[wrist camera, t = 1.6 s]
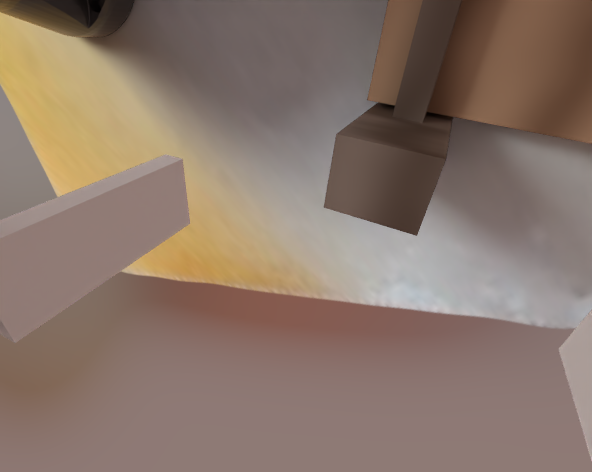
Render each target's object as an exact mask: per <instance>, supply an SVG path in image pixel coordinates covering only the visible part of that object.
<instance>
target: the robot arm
mask: <svg viewBox="0 0 592 472" xmlns="http://www.w3.org/2000/svg"><path fill="white" fill-rule="evenodd" d="M133 1H134V0H0V12H1V13H4V14H7V15H10V16H13V17H15V18H18V19H21V20H24V21H27V22H29V23H32V24H35V25H38V26H41V27H44V28H46V29H49V30H52V31H55V32H58V33H60V34H63V35H67V36H72V37H103V36H107V35H109V34H111V33H113V32H114V31H116V30H117V29H118V28H119V27H120V26H121V25H122V24H123V22H124V21H125V19H126V18H127V16H128V14H129V12H130V10H131V7H132V4H133ZM189 224H190V219H189V210H188V202H187V193H186V185H185V177H184V168H183V160H182V159H181V158H177V157H173V156H170V155H163V156H161V157H158V158H156V159H153V160H151V161H148V162H145V163H143V164H140V165H138V166H135V167H133V168H130V169H128V170H125V171H123V172H120V173H118V174H115V175H113V176H110V177H108V178H105V179H103V180H100V181H98V182H95V183H93V184H90V185H88V186H85V187H82V188H80V189H77V190H75V191H72V192H70V193H67V194H65V195H62V196H60V197H57V198H55V199H52V200H50V201H47V202H45V203H42V204H40V205H37V206H35V207H32V208H30V209H27V210H25V211H22V212H20V213H17V214H15V215H12V216H9V217H7V218H5V219H2V220H0V334H1V335H2V336H4V337H6V338H7V339H9V340H11V341H13V342H14V343H16V342H17V341H19V340H20V339H22V338H23V337H25V336H26V335H28V334H29V333H30V332H32V331H33V330H35V329H36V328H38V327H39V326H41V325H42V324H43V323H45V322H47V321H48V320H49V319H51V318H52V317H54V316H55V315H57V314H58V313H60V312H61V311H63V310H64V309H66V308H67V307H69V306H70V305H71V304H73V303H74V302H76V301H77V300H79V299H80V298H82V297H83V296H84V295H86V294H88V293H89V292H90V291H92V290H93V289H95V288H96V287H98V286H99V285H101V284H102V283H104V282H105V281H107V280H108V279H109V278H111V277H112V276H114V275H115V274H117V273H118V272H120V271H121V270H123V269H124V268H126V267H127V266H129V265H130V264H132V263H133V262H134V261H136V260H137V259H139V258H140V257H142V256H143V255H145V254H146V253H148V252H149V251H151V250H152V249H153V248H155V247H156V246H158V245H159V244H161V243H162V242H164V241H165V240H167V239H168V238H170V237H171V236H172V235H174V234H175V233H177V232H178V231H180V230H181V229H183V228H184V227H186V226H187V225H189ZM559 353H560V356H561V360H562V363H563V366H564V370H565V373H566V377H567V380H568V383H569V387H570V390H571V393H572V397H573V400H574V403H575V406H576V410H577V413H578V417H579V420H580V423H581V427H582V430H583V433H584V437H585V440H586V443H587V446H588V450H589V453H590V457H591V460H592V310H591V311H590V312H589V313H588V315H587V316H586V317H585V318H584V319H583V321H582V322H581V323H580V324H579V325H578V327H577V328H576V329H575V330H574V331H573V332H572V334H571V335H570V336H569V337H568V338H567V340H566V341H565V342H564V343H563V344H562V346H561V347H560V348H559Z"/></svg>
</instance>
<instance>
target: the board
mask: <svg viewBox="0 0 592 472" xmlns="http://www.w3.org/2000/svg"><path fill="white" fill-rule="evenodd" d="M422 1H423V0H388V5H387V10H386V14H385V19H384V24H383V28H382V33H381V38H380V42H379V47H378V52H377V56H376V61H375V66H374V70H373V75H372V80H371V84H370V89H369V94H368V98H367V100H369V101H375V102H380V103H385V104H390V105H395V104H396V100H397V96H398V93H399V89H400V85H401V81H402V77H403V74H404V70H405V66H406V62H407V58H408V55H409V51H410V47H411V43H412V39H413V35H414V32H415V28H416V24H417V20H418V16H419V13H420V9H421V5H422ZM427 112H431V113H436V114H442V115H447V116H452V117H457V118H462V119H467V120H472V121H478V122H483V123H488V124H493V125H498V126H503V127H508V128H514V129H519V130H524V131H529V132H534V133H539V134H545V135H550V136H555V137H560V138H565V139H570V140H575V141H581V142H586V143H591V144H592V0H462V3H461V6H460V9H459V13H458V16H457V19H456V22H455V25H454V28H453V31H452V35H451V38H450V41H449V44H448V47H447V50H446V53H445V57H444V60H443V63H442V66H441V69H440V72H439V75H438V79H437V82H436V85H435V88H434V91H433V94H432V97H431V101H430V104H429V107H428V110H427Z"/></svg>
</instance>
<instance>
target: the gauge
mask: <svg viewBox="0 0 592 472" xmlns="http://www.w3.org/2000/svg"><path fill="white" fill-rule="evenodd" d="M461 3H462V0H423V1H422V5H421V9H420V13H419V16H418V20H417V24H416V28H415V32H414V35H413V39H412V43H411V47H410V51H409V55H408V58H407V62H406V66H405V70H404V74H403V77H402V81H401V85H400V89H399V93H398V96H397V100H396V104H395V105H390V104H385V103H380V102H378V103H377V104H376V105H374V106H373V107H372V108H370V109H369V110H368V111H366V112H365V113H364V114H362V115H361V116H360V117H358V118H357V119H356V120H354V121H353V122H352V123H350V124H349V125H348V126H346V127H345V128H344V129H342V130H341V131H340V132H338V133H337V134H336V140H335V145H334V151H333V157H332V163H331V168H330V174H329V180H328V186H327V192H326V197H325V203H324V208H328V209H331V210H334V211H337V212H341V213H344V214H347V215H351V216H354V217H357V218H361V219H364V220H367V221H370V222H374V223H377V224H380V225H384V226H387V227H390V228H393V229H397V230H400V231H403V232H407V233H410V234H413V235H416V236H417V234H418V231H419V229H420V226H421V223H422V221H423V218H424V216H425V213H426V210H427V208H428V205H429V202H430V200H431V197H432V195H433V192H434V189H435V187H436V184H437V181H438V179H439V176H440V174H441V171H442V168H443V166H444V163H445V160H446V156H447V149H448V143H449V137H450V131H451V125H452V118H453V117H452V116H447V115H442V114H436V113H431V112H427V110H428V107H429V104H430V101H431V97H432V94H433V91H434V88H435V85H436V82H437V79H438V75H439V72H440V69H441V66H442V63H443V60H444V57H445V53H446V50H447V47H448V44H449V41H450V38H451V35H452V31H453V28H454V25H455V22H456V19H457V16H458V13H459V9H460V6H461Z"/></svg>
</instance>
